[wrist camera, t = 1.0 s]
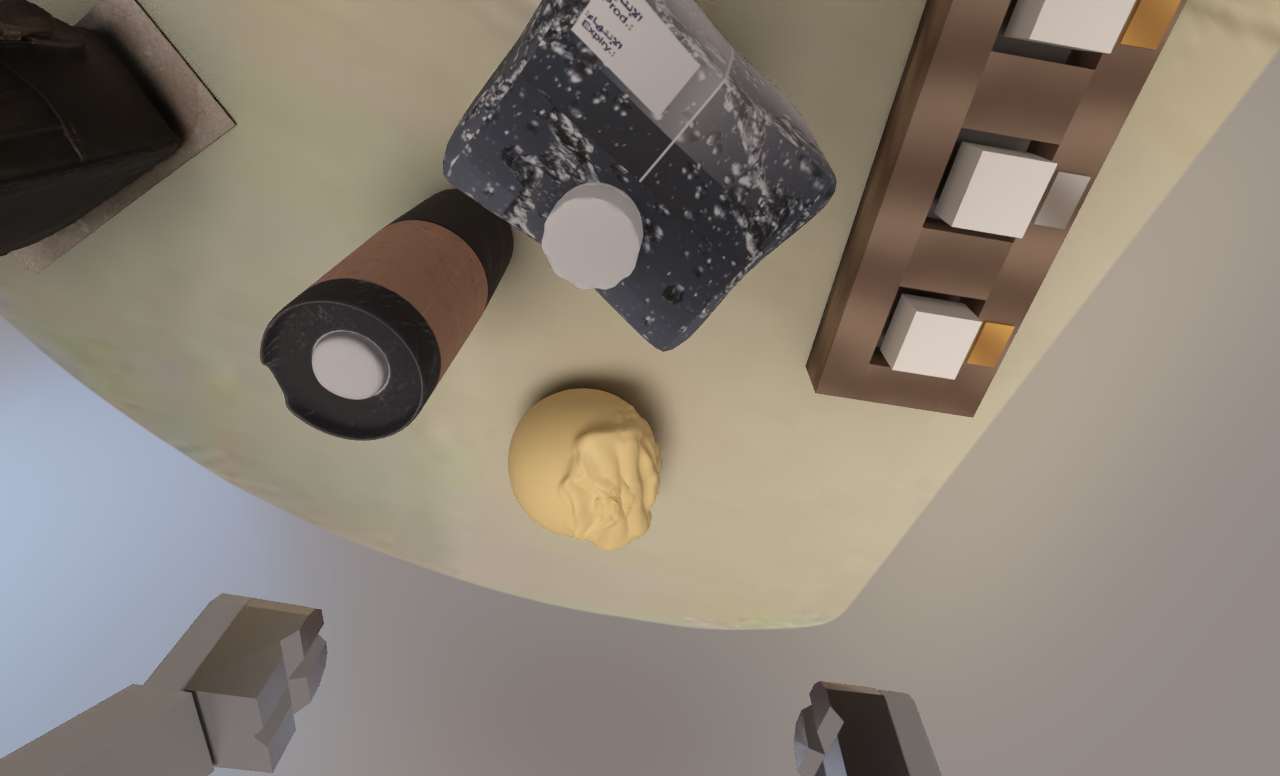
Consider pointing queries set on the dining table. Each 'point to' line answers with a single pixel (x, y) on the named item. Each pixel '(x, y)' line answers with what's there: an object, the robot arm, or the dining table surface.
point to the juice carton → (640, 157)
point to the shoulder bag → (89, 122)
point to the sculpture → (586, 467)
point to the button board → (919, 167)
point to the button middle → (993, 189)
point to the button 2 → (1070, 23)
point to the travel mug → (388, 319)
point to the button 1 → (929, 336)
